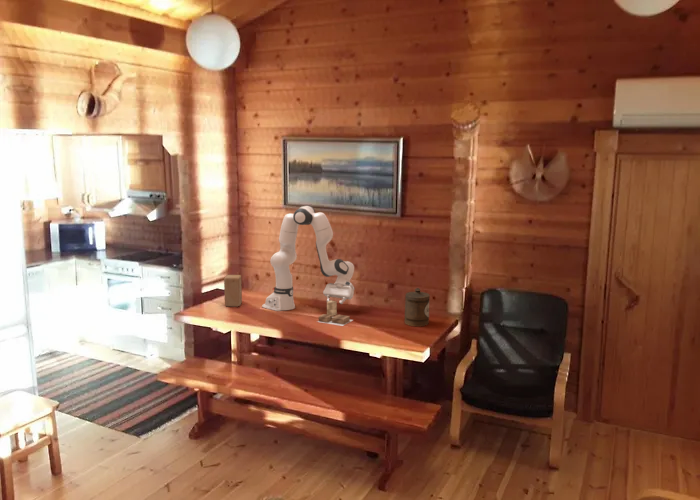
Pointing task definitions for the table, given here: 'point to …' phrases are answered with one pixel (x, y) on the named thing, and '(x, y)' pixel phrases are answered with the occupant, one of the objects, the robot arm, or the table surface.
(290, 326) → the table surface
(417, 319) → the wooden container
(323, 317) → the walnut block
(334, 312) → the birch pillar
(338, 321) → the walnut slab
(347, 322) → the blueprint board
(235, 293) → the wooden block
